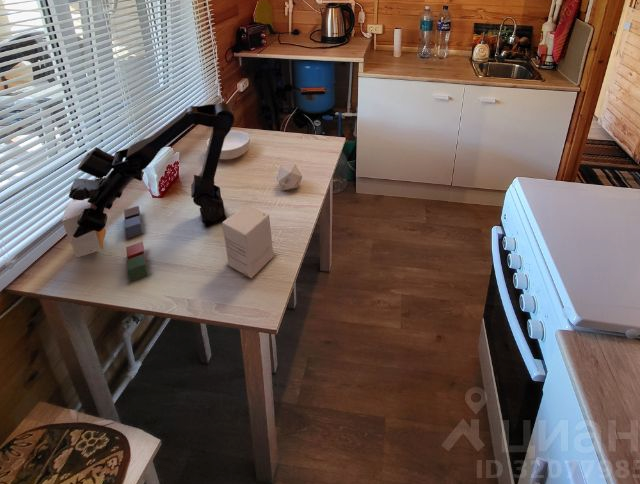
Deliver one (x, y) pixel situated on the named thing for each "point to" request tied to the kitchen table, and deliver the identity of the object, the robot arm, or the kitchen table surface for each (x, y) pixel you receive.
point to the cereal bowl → (234, 144)
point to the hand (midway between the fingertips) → (78, 226)
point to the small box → (85, 242)
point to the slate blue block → (133, 226)
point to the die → (289, 177)
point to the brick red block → (135, 250)
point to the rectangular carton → (248, 240)
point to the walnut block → (132, 213)
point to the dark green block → (137, 267)
